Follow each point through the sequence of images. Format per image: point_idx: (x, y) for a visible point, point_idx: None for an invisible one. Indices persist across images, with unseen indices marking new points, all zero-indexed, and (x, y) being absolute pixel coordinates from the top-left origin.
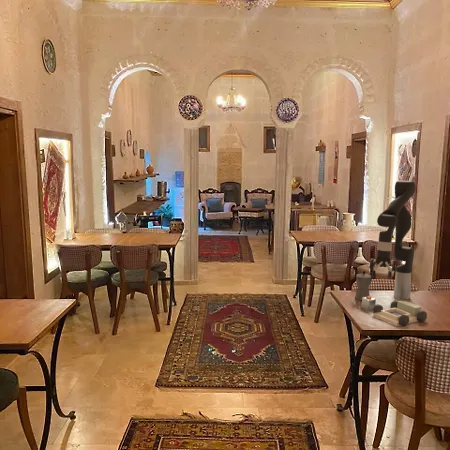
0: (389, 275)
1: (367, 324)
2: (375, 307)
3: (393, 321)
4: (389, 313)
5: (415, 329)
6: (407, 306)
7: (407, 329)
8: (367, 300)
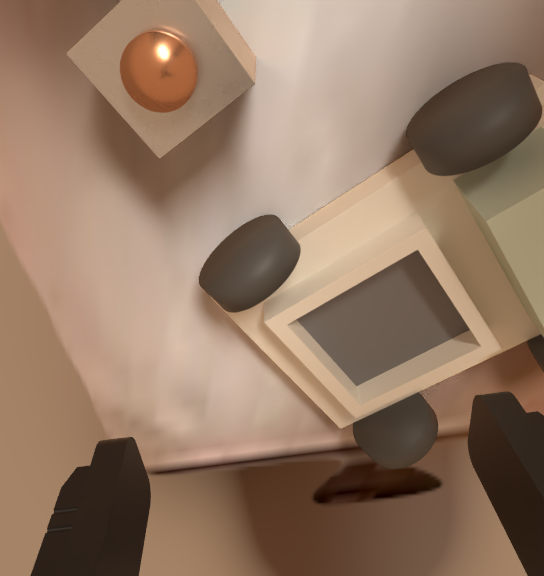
0: (503, 509)
1: (154, 410)
2: (218, 302)
3: (324, 411)
4: (320, 370)
5: None
6: (530, 306)
7: None
8: (143, 135)
